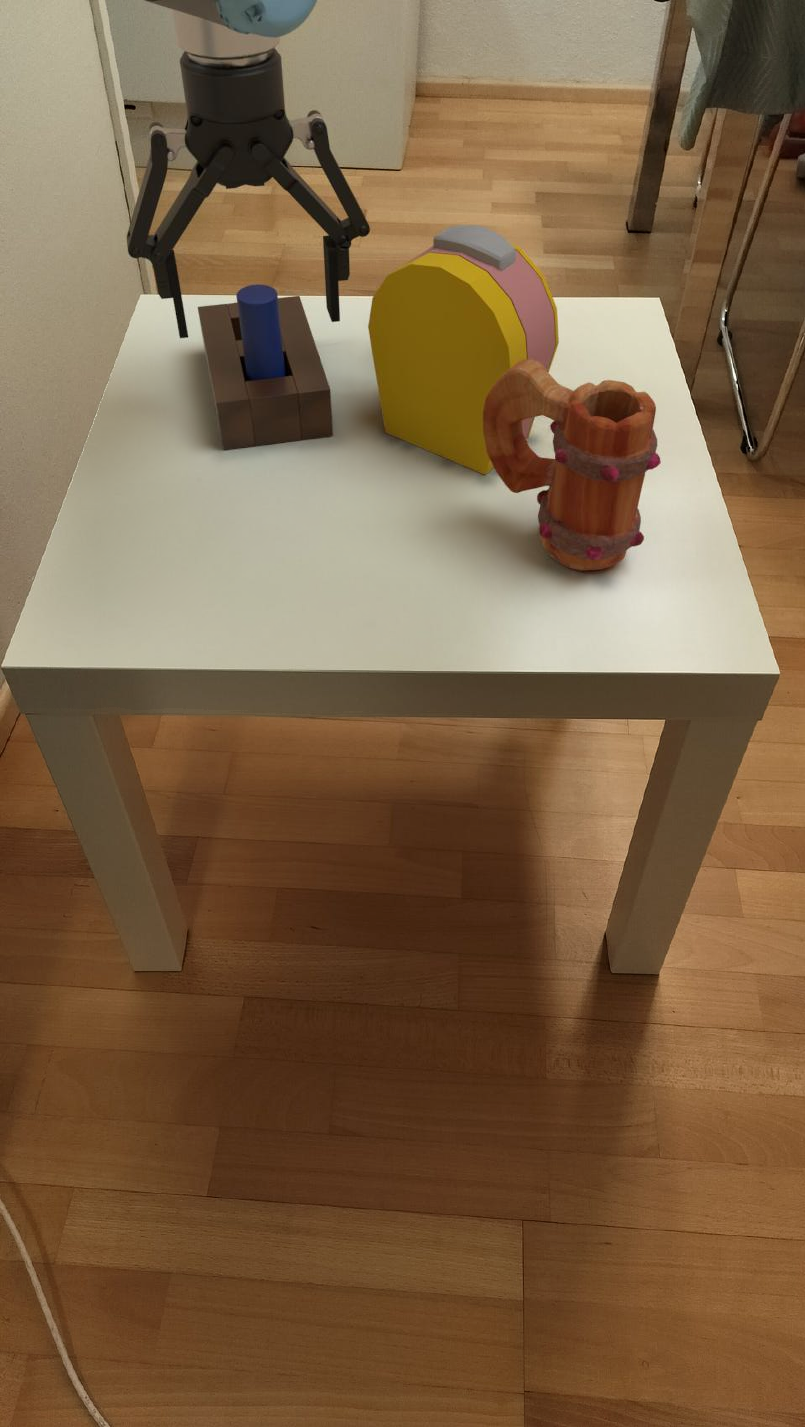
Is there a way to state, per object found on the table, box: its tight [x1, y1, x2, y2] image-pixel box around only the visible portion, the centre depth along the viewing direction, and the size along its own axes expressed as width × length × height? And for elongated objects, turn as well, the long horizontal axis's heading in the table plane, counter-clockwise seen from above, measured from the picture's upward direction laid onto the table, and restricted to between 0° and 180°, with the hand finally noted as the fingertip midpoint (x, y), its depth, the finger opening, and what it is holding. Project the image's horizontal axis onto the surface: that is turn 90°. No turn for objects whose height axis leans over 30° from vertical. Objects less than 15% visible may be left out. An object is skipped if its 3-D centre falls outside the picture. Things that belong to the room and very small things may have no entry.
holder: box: [197, 295, 334, 451], centre depth 98 cm, size 10×18×5 cm, turn 13°
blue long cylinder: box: [235, 283, 285, 381], centre depth 93 cm, size 4×4×12 cm
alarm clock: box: [367, 224, 560, 476], centre depth 88 cm, size 15×8×18 cm, turn 54°
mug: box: [483, 359, 662, 571], centre depth 79 cm, size 15×8×15 cm, turn 58°
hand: (259, 322), depth 90 cm, fingers open, 13 cm apart
